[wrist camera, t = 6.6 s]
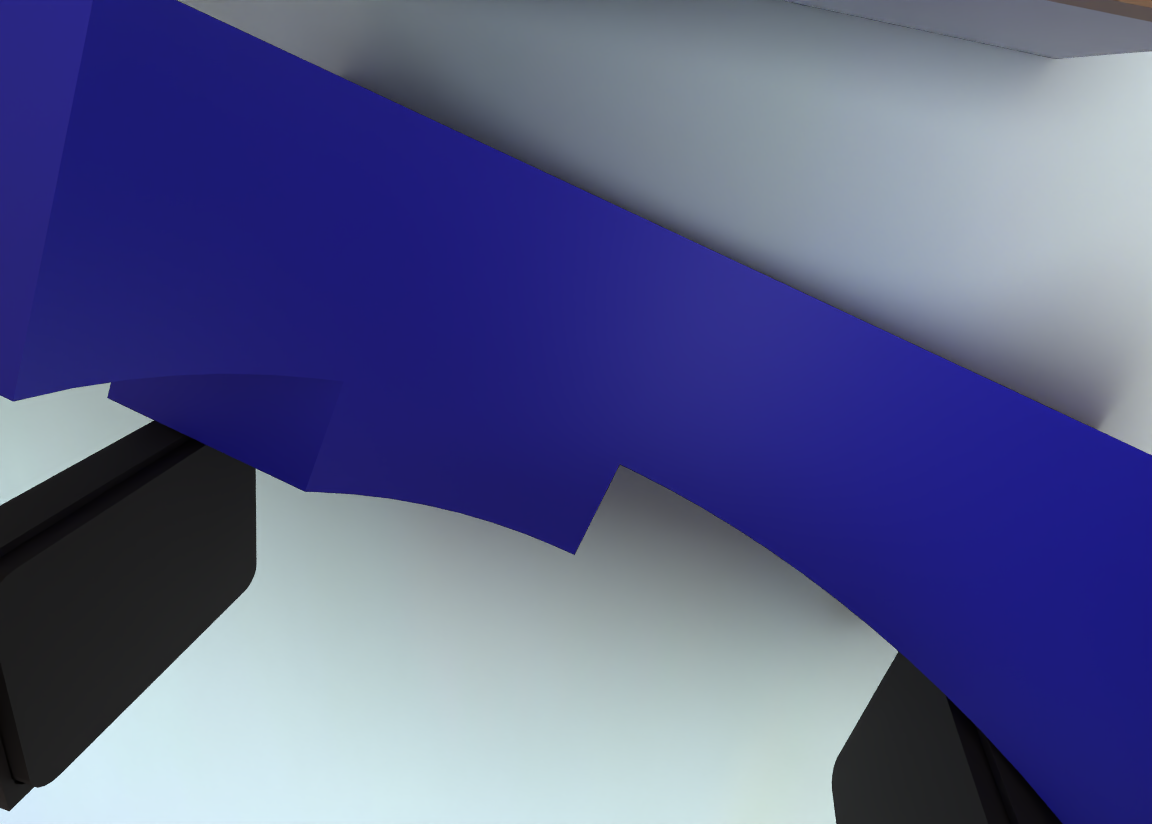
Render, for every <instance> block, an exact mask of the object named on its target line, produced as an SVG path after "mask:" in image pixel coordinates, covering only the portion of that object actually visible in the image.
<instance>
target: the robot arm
mask: <svg viewBox="0 0 1152 824" xmlns="http://www.w3.org/2000/svg"><path fill="white" fill-rule="evenodd" d="M255 571H256V474H255V468H254V467H252V466H250V465H248V464H246V463H244V462H241V461H239V460H237V459H235V458H233V457H231V456H229V455H227V454H225V453H222V452H220V451H218V450H216V449H214V448H212V447H210V446H208V445H206V444H203V443H201V442H199V441H197V440H195V439H193V438H191V437H189V436H187V435H185V434H182V433H180V432H178V431H176V430H174V429H172V428H170V427H168V426H166V425H163V424H161V423H159V422H157V421H155V420H154V421H152V422H151V423H149V424H147V425H145V426H143V427H142V428H140V429H138V430H136V431H134V432H133V433H131V434H129V435H127V436H125V437H123V438H122V439H120V440H118V441H116V442H114V443H113V444H111V445H109V446H107V447H105V448H104V449H102V450H100V451H98V452H96V453H95V454H93V455H91V456H89V457H87V458H86V459H84V460H82V461H80V462H78V463H76V464H75V465H73V466H71V467H69V468H67V469H66V470H64V471H62V472H60V473H58V474H57V475H55V476H53V477H51V478H49V479H48V480H46V481H44V482H42V483H40V484H39V485H37V486H35V487H33V488H31V489H29V490H28V491H26V492H24V493H22V494H20V495H19V496H17V497H15V498H13V499H11V500H10V501H8V502H6V503H4V504H2V505H1V506H0V808H2V809H5V810H7V811H10V810H11V809H12V808H13V807H14V806H15V805H16V804H17V803H18V802H19V801H20V800H21V799H22V798H23V797H24V796H25V795H27V794H28V793H29V792H30V791H31V790H32V789H33V788H34V787H37V788H38V787H42V786H45V785H47V784H49V783H50V782H52V781H53V780H54V779H55V778H57V777H58V776H59V775H60V774H61V773H62V772H63V771H64V770H65V769H66V768H67V767H68V766H69V765H70V764H71V763H72V762H73V761H74V760H75V759H76V758H77V757H78V756H79V755H80V754H81V753H82V752H83V751H84V750H85V749H86V748H87V747H88V746H89V745H90V744H91V743H92V742H93V741H94V740H95V739H96V738H97V737H98V736H99V735H100V734H101V733H102V732H103V731H104V730H105V729H106V728H107V727H108V726H109V725H110V724H111V723H112V722H113V721H114V720H115V719H116V718H117V717H118V716H119V715H120V714H121V713H122V712H123V711H124V710H125V709H126V708H127V707H128V706H130V705H131V704H132V703H133V702H134V701H135V700H136V699H137V698H138V697H139V696H140V695H141V694H142V693H143V692H144V691H145V690H146V689H147V688H148V687H149V686H150V685H151V684H152V683H153V682H154V681H155V680H156V679H157V678H158V677H159V676H160V675H161V674H162V673H163V672H164V671H165V670H166V669H167V668H168V667H169V666H170V665H171V664H172V663H173V662H174V661H175V660H176V659H177V658H178V657H179V656H180V655H181V654H182V653H183V652H184V651H185V650H186V649H187V648H188V647H189V646H190V645H191V644H192V643H193V642H194V641H195V640H196V639H197V638H198V637H199V636H200V635H201V634H202V633H203V632H204V631H205V630H206V629H207V628H208V627H209V626H210V625H211V624H212V623H213V622H214V621H215V620H216V619H217V618H218V617H219V616H220V615H221V614H222V613H223V612H224V611H225V610H226V609H227V608H228V607H229V606H230V605H231V604H232V603H233V602H234V601H235V600H236V599H237V598H238V597H239V596H240V595H241V594H242V593H243V592H244V591H245V590H246V589H247V588H248V586H249V585H250V583H251V581H252V579H253V577H254V574H255ZM832 792H833V800H834V808H835V816H836V824H1063V823H1062V822H1061V821H1060V820H1059V819H1058V817H1057V816H1056V815H1055V814H1054V813H1053V812H1052V810H1051V809H1050V808H1049V807H1048V806H1047V804H1046V803H1045V802H1044V801H1043V800H1042V799H1041V797H1040V796H1039V795H1038V794H1037V793H1036V791H1035V790H1034V789H1033V788H1032V787H1031V786H1030V784H1029V783H1028V782H1027V781H1026V780H1025V778H1024V777H1023V776H1022V775H1021V774H1020V773H1019V772H1018V770H1017V769H1016V768H1015V767H1014V766H1013V765H1012V764H1011V763H1010V762H1009V761H1008V760H1007V758H1006V757H1005V756H1004V755H1003V754H1002V753H1001V752H1000V751H999V750H998V749H997V748H996V746H995V745H994V744H993V743H992V742H991V741H990V740H989V739H988V738H987V737H986V736H985V734H984V733H983V732H982V731H981V730H980V729H979V728H978V727H977V726H976V725H975V724H974V723H973V722H972V721H971V720H970V719H969V718H968V717H967V716H966V715H965V714H964V713H963V712H962V711H961V710H960V709H959V708H958V707H957V706H956V705H955V704H954V703H953V702H952V701H951V700H950V699H949V698H948V697H947V696H946V695H945V694H944V693H943V692H942V691H941V690H940V689H939V688H938V687H937V686H936V685H935V684H934V683H932V682H931V681H930V680H929V679H928V678H927V677H926V676H925V675H924V674H923V673H922V672H921V671H920V670H919V669H918V668H916V667H915V666H914V665H913V664H912V663H911V662H910V661H909V660H908V659H907V658H906V657H905V656H903V655H902V654H901V653H900V652H898V653H897V655H896V657H895V659H894V660H893V662H892V664H891V665H890V667H889V669H888V671H887V672H886V674H885V676H884V678H883V679H882V681H881V683H880V684H879V686H878V688H877V690H876V691H875V693H874V695H873V697H872V698H871V700H870V702H869V704H868V705H867V707H866V709H865V710H864V712H863V714H862V716H861V717H860V719H859V721H858V723H857V724H856V726H855V728H854V729H853V731H852V733H851V735H850V736H849V738H848V740H847V742H846V743H845V745H844V747H843V749H842V750H841V752H840V754H839V755H838V757H837V760H836V762H835V765H834V769H833V774H832Z"/></svg>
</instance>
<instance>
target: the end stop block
mask: <svg viewBox="0 0 1152 824" xmlns="http://www.w3.org/2000/svg"><path fill="white" fill-rule="evenodd" d="M783 1H788V2H793V3H797V4H802V5H807V6H811V7H816V8H821V9H825V10H830V11H835V12H839V13H844V14H849V15H853V16H858V17H863V18H868V19H872V20H877V21H882V22H886V23H891V24H896V25H900V26H905V27H910V28H914V29H919V30H924V31H928V32H933V33H938V34H942V35H947V36H952V37H957V38H961V39H966V40H971V41H975V42H980V43H985V44H989V45H994V46H999V47H1003V48H1008V49H1013V50H1017V51H1022V52H1027V53H1031V54H1036V55H1041V56H1046V57H1050V58H1055V59H1058V58H1071V57H1083V56H1095V55H1108V54H1120V53H1132V52H1145V51H1152V0H783Z"/></svg>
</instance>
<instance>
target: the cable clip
mask: <svg viewBox="0 0 1152 824" xmlns="http://www.w3.org/2000/svg"><path fill="white" fill-rule="evenodd" d="M109 382H111V385H110V389H109V393H108V397H107V398H109V399H111V400H113V401H115V402H117V403H119V404H121V405H123V406H125V407H128V408H130V409H132V410H134V411H136V412H138V413H140V414H142V415H144V416H147V417H149V418H151V419H153V420H155V421H157V422H159V423H161V424H163V425H166V426H168V427H170V428H172V429H174V430H176V431H178V432H180V433H182V434H185V435H187V436H189V437H191V438H193V439H195V440H197V441H199V442H201V443H203V444H206V445H208V446H210V447H212V448H214V449H216V450H218V451H220V452H222V453H225V454H227V455H229V456H231V457H233V458H235V459H237V460H239V461H241V462H244V463H246V464H248V465H250V466H252V467H254V468H256V469H258V470H260V471H263V472H265V473H267V474H269V475H271V476H273V477H275V478H277V479H279V480H282V481H284V482H286V483H288V484H290V485H292V486H294V487H296V488H298V489H300V490H303V491H305V492H325V493H341V494H356V495H364V496H373V497H381V498H389V499H395V500H401V501H407V502H412V503H418V504H423V505H428V506H433V507H437V508H441V509H445V510H449V511H454V512H458V513H462V514H465V515H469V516H472V517H475V518H479V519H482V520H486V521H489V522H492V523H496V524H498V525H501V526H504V527H507V528H510V529H513V530H515V531H518V532H521V533H524V534H527V535H529V536H532V537H534V538H536V539H539V540H541V541H544V542H546V543H548V544H551V545H553V546H556V547H558V548H560V549H563V550H565V551H567V552H569V553H571V554H574V555H575V553H576V551H577V549H578V547H579V545H580V543H581V541H582V539H583V537H584V535H585V533H586V531H587V529H588V527H589V525H590V523H591V521H592V519H593V517H594V515H595V513H596V511H597V509H598V507H599V505H600V503H601V501H602V499H603V497H604V495H605V493H606V491H607V489H608V487H609V485H610V483H611V481H612V479H613V477H614V475H615V473H616V471H617V469H618V467H619V465H622V466H624V467H626V468H628V469H630V470H632V471H634V472H637V473H638V474H640V475H642V476H644V477H646V478H648V479H650V480H652V481H654V482H656V483H658V484H660V485H662V486H664V487H666V488H668V489H669V490H671V491H673V492H675V493H677V494H678V495H680V496H682V497H684V498H686V499H687V500H689V501H691V502H693V503H695V504H696V505H698V506H700V507H702V508H703V509H705V510H707V511H708V512H710V513H712V514H713V515H715V516H717V517H718V518H720V519H722V520H723V521H725V522H727V523H728V524H730V525H731V526H733V527H735V528H736V529H738V530H739V531H741V532H742V533H744V534H745V535H747V536H749V537H750V538H752V539H753V540H755V541H756V542H758V543H759V544H761V545H762V546H764V547H765V548H767V549H768V550H770V551H771V552H773V553H774V554H776V555H777V556H778V557H780V558H781V559H783V560H784V561H786V562H787V563H788V564H790V565H791V566H793V567H794V568H795V569H797V570H798V571H800V572H801V573H803V574H804V575H805V576H806V577H808V578H809V579H810V580H812V581H813V582H814V583H816V584H817V585H818V586H820V587H821V588H822V589H824V590H825V591H826V592H828V593H829V594H830V595H832V596H833V597H834V598H836V599H837V600H838V601H839V602H841V603H842V604H843V605H844V606H846V607H847V608H848V609H849V610H850V611H852V612H853V613H854V614H855V615H857V616H858V617H859V618H860V619H862V620H863V621H864V622H865V623H866V624H868V625H869V626H870V627H871V628H872V629H874V630H875V631H876V632H877V633H878V634H879V635H881V636H882V637H883V638H884V639H885V640H886V641H887V642H889V643H890V644H891V645H892V646H893V647H894V648H895V649H897V650H898V651H899V652H900V653H901V654H902V655H903V656H905V657H906V658H907V659H908V660H909V661H910V662H911V663H912V664H913V665H914V666H915V667H916V668H918V669H919V670H920V671H921V672H922V673H923V674H924V675H925V676H926V677H927V678H928V679H929V680H930V681H931V682H932V683H934V684H935V685H936V686H937V687H938V688H939V689H940V690H941V691H942V692H943V693H944V694H945V695H946V696H947V697H948V698H949V699H950V700H951V701H952V702H953V703H954V704H955V705H956V706H957V707H958V708H959V709H960V710H961V711H962V712H963V713H964V714H965V715H966V716H967V717H968V718H969V719H970V720H971V721H972V722H973V723H974V724H975V725H976V726H977V727H978V728H979V729H980V730H981V731H982V732H983V733H984V734H985V736H986V737H987V738H988V739H989V740H990V741H991V742H992V743H993V744H994V745H995V746H996V748H997V749H998V750H999V751H1000V752H1001V753H1002V754H1003V755H1004V756H1005V757H1006V758H1007V760H1008V761H1009V762H1010V763H1011V764H1012V765H1013V766H1014V767H1015V768H1016V769H1017V770H1018V772H1019V773H1020V774H1021V775H1022V776H1023V777H1024V778H1025V780H1026V781H1027V782H1028V783H1029V784H1030V786H1031V787H1032V788H1033V789H1034V790H1035V791H1036V793H1037V794H1038V795H1039V796H1040V797H1041V799H1042V800H1043V801H1044V802H1045V803H1046V804H1047V806H1048V807H1049V808H1050V809H1051V810H1052V812H1053V813H1054V814H1055V815H1056V816H1057V817H1058V819H1059V820H1060V821H1061V822H1062V823H1063V824H1152V455H1150V454H1148V453H1146V452H1143V451H1141V450H1139V449H1137V448H1135V447H1133V446H1131V445H1128V444H1126V443H1124V442H1122V441H1120V440H1118V439H1116V438H1113V437H1111V436H1109V435H1107V434H1105V433H1103V432H1101V431H1098V430H1096V429H1094V428H1092V427H1090V426H1088V425H1086V424H1083V423H1081V422H1079V421H1077V420H1075V419H1073V418H1071V417H1068V416H1066V415H1064V414H1062V413H1060V412H1058V411H1056V410H1053V409H1051V408H1049V407H1047V406H1045V405H1043V404H1041V403H1038V402H1036V401H1034V400H1032V399H1030V398H1028V397H1026V396H1023V395H1021V394H1019V393H1017V392H1015V391H1013V390H1011V389H1008V388H1006V387H1004V386H1002V385H1000V384H998V383H996V382H993V381H991V380H989V379H987V378H985V377H983V376H981V375H978V374H976V373H974V372H972V371H970V370H968V369H966V368H963V367H961V366H959V365H957V364H955V363H953V362H951V361H948V360H946V359H944V358H942V357H940V356H938V355H936V354H933V353H931V352H929V351H927V350H925V349H923V348H921V347H918V346H916V345H914V344H912V343H910V342H908V341H906V340H903V339H901V338H899V337H897V336H895V335H893V334H891V333H888V332H886V331H884V330H882V329H880V328H878V327H876V326H873V325H871V324H869V323H867V322H865V321H863V320H861V319H858V318H856V317H854V316H852V315H850V314H848V313H846V312H843V311H841V310H839V309H837V308H835V307H833V306H831V305H828V304H826V303H824V302H822V301H820V300H818V299H816V298H813V297H811V296H809V295H807V294H805V293H803V292H801V291H798V290H796V289H794V288H792V287H790V286H788V285H786V284H783V283H781V282H779V281H777V280H775V279H773V278H771V277H768V276H766V275H764V274H762V273H760V272H758V271H756V270H753V269H751V268H749V267H747V266H745V265H743V264H741V263H738V262H736V261H734V260H732V259H730V258H728V257H726V256H723V255H721V254H719V253H717V252H715V251H713V250H711V249H708V248H706V247H704V246H702V245H700V244H698V243H696V242H693V241H691V240H689V239H687V238H685V237H683V236H681V235H678V234H676V233H674V232H672V231H670V230H668V229H666V228H663V227H661V226H659V225H657V224H655V223H653V222H651V221H648V220H646V219H644V218H642V217H640V216H638V215H636V214H633V213H631V212H629V211H627V210H625V209H623V208H621V207H618V206H616V205H614V204H612V203H610V202H608V201H606V200H603V199H601V198H599V197H597V196H595V195H593V194H591V193H588V192H586V191H584V190H582V189H580V188H578V187H576V186H573V185H571V184H569V183H567V182H565V181H563V180H561V179H558V178H556V177H554V176H552V175H550V174H548V173H546V172H543V171H541V170H539V169H537V168H535V167H533V166H531V165H528V164H526V163H524V162H522V161H520V160H518V159H516V158H513V157H511V156H509V155H507V154H505V153H503V152H501V151H498V150H496V149H494V148H492V147H490V146H488V145H486V144H483V143H481V142H479V141H477V140H475V139H473V138H471V137H468V136H466V135H464V134H462V133H460V132H458V131H456V130H453V129H451V128H449V127H447V126H445V125H443V124H441V123H438V122H436V121H434V120H432V119H430V118H428V117H426V116H423V115H421V114H419V113H417V112H415V111H413V110H411V109H408V108H406V107H404V106H402V105H400V104H398V103H396V102H393V101H391V100H389V99H387V98H385V97H383V96H381V95H378V94H376V93H374V92H372V91H370V90H368V89H366V88H363V87H361V86H359V85H357V84H355V83H353V82H351V81H348V80H346V79H344V78H342V77H340V76H338V75H336V74H333V73H331V72H329V71H327V70H325V69H323V68H321V67H318V66H316V65H314V64H312V63H310V62H308V61H306V60H303V59H301V58H299V57H297V56H295V55H293V54H291V53H288V52H286V51H284V50H282V49H280V48H278V47H275V46H273V45H271V44H269V43H267V42H265V41H263V40H260V39H258V38H256V37H254V36H252V35H250V34H248V33H245V32H243V31H241V30H239V29H237V28H235V27H233V26H230V25H228V24H226V23H224V22H222V21H220V20H218V19H215V18H213V17H211V16H209V15H207V14H205V13H203V12H200V11H198V10H196V9H194V8H192V7H190V6H188V5H185V4H183V3H181V2H179V1H177V0H0V395H1V396H3V397H5V398H7V399H9V400H11V401H17V400H22V399H26V398H31V397H35V396H40V395H44V394H49V393H53V392H58V391H62V390H66V389H71V388H77V387H83V386H90V385H96V384H103V383H109Z"/></svg>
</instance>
